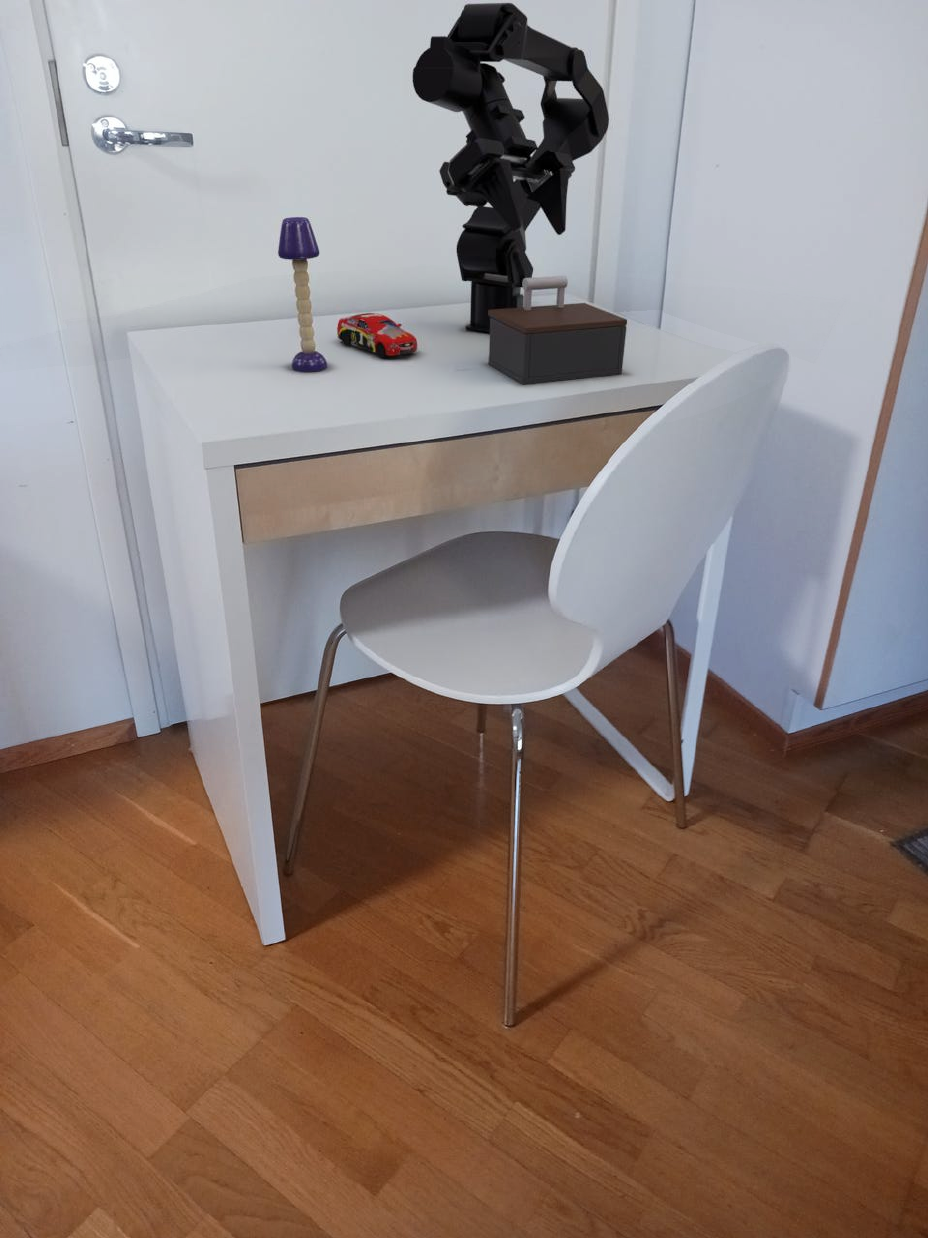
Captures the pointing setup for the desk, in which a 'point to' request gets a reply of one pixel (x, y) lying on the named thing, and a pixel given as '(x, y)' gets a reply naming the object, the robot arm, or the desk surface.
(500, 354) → the dark grey box
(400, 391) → the desk surface
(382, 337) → the race car
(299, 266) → the toy lamp
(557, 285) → the lid
